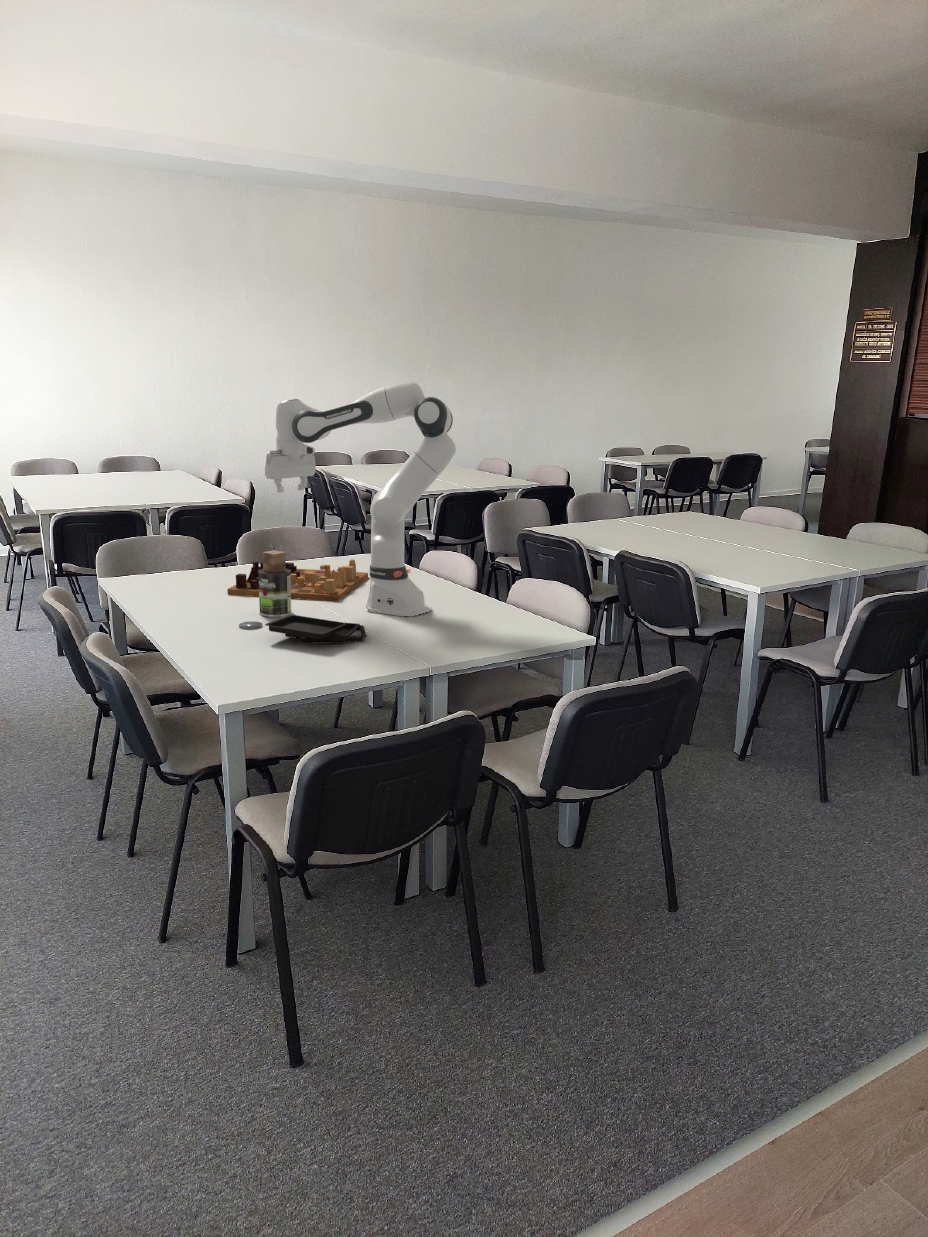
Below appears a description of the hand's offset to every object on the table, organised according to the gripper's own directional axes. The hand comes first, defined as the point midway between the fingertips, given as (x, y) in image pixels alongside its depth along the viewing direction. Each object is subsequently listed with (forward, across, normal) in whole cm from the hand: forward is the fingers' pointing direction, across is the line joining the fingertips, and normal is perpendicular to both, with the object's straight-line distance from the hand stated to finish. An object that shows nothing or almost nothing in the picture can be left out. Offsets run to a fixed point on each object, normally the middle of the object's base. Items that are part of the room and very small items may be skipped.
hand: (291, 491), depth 300 cm
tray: (+38, -31, -42) cm, 64 cm away
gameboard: (+38, +16, +13) cm, 43 cm away
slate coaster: (+38, -34, -16) cm, 53 cm away
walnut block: (+23, -18, -10) cm, 31 cm away
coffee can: (+37, -18, -10) cm, 43 cm away
